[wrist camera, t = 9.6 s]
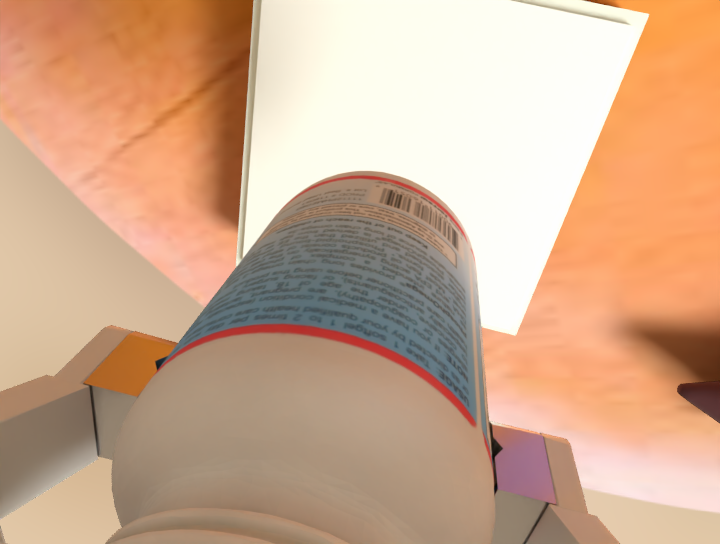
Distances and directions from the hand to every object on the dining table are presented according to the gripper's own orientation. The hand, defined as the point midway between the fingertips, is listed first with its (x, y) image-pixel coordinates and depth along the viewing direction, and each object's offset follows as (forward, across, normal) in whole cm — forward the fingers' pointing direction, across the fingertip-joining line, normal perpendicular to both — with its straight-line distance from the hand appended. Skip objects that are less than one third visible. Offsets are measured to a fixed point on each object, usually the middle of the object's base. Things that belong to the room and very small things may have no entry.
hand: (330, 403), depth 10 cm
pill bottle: (+6, 0, 0) cm, 6 cm away
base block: (+20, 0, 0) cm, 20 cm away
